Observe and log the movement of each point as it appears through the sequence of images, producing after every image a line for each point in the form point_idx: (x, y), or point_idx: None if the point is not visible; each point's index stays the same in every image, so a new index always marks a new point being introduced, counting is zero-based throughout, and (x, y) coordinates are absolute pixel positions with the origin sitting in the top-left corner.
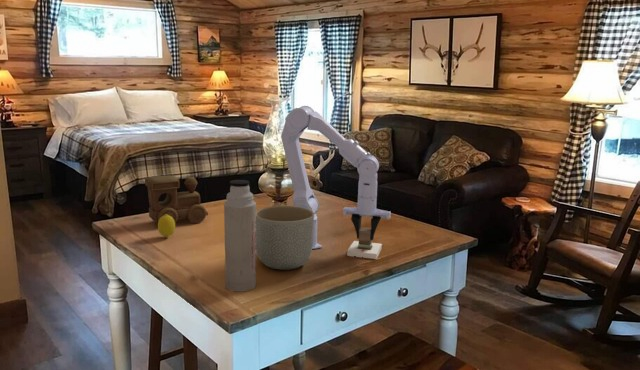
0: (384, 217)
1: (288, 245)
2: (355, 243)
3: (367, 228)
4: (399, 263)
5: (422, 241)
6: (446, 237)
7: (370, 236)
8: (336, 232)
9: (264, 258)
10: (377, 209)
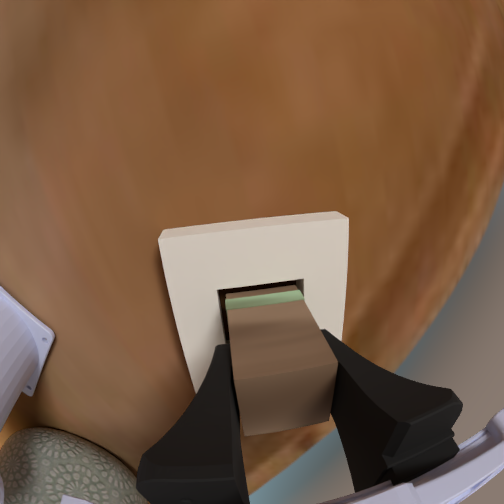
0: (469, 446)
1: None
2: (187, 286)
3: (297, 383)
4: (409, 347)
5: (465, 48)
6: (496, 7)
7: None
8: (15, 65)
9: None
10: (464, 491)
